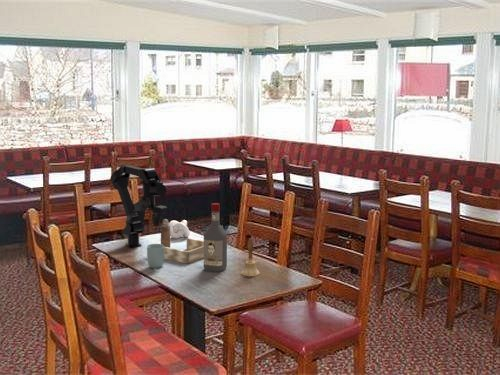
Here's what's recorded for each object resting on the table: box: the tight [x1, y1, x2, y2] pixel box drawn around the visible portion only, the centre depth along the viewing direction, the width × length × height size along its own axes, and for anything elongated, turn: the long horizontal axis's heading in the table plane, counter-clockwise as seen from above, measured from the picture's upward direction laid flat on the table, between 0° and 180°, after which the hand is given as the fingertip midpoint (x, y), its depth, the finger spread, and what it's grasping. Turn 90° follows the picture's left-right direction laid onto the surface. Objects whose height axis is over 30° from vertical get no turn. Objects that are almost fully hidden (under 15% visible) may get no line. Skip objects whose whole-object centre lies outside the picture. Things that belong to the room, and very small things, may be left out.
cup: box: [146, 243, 165, 270], centre depth 279 cm, size 8×8×10 cm
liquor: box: [203, 202, 228, 273], centre depth 276 cm, size 9×9×30 cm
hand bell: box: [240, 237, 261, 277], centre depth 272 cm, size 8×8×16 cm
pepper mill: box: [160, 218, 171, 248], centre depth 303 cm, size 5×5×17 cm
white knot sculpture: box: [168, 219, 191, 240], centre depth 334 cm, size 11×12×9 cm
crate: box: [164, 237, 204, 265], centre depth 296 cm, size 16×20×6 cm
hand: (149, 225), depth 304 cm, fingers open, 9 cm apart
